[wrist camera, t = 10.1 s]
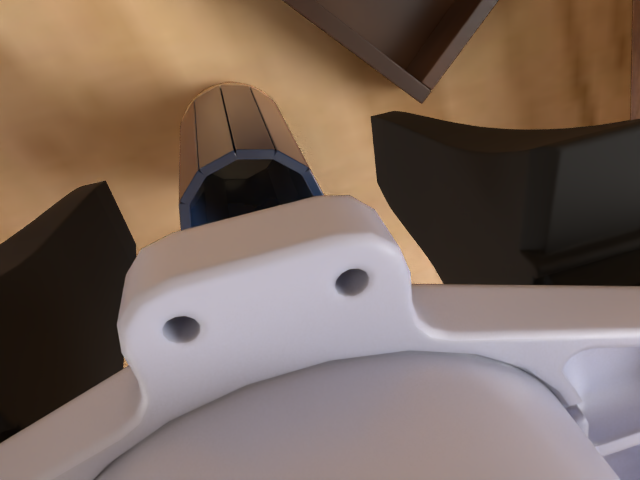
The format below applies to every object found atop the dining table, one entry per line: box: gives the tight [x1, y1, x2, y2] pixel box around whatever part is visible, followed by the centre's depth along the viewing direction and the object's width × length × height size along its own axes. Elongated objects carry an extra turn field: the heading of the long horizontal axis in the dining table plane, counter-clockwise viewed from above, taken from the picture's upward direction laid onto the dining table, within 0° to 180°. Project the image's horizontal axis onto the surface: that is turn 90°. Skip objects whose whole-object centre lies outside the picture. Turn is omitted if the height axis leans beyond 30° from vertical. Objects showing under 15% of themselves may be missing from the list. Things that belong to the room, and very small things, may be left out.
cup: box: [179, 82, 324, 230], centre depth 19 cm, size 5×5×8 cm
